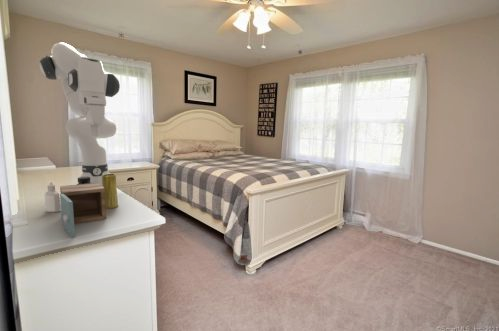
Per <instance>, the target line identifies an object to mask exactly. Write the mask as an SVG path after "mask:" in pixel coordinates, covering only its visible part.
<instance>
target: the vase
mask: <svg viewBox="0 0 499 331" xmlns="http://www.w3.org/2000/svg"><path fill="white" fill-rule="evenodd" d="M102 185H103V187H104V188H105V206H106V210H107V209H108V210H109V209H115V208H117V207H119V202H118V189H117V176H116V173H110V174H103V175H102Z"/></svg>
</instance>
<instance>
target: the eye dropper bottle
mask: <svg viewBox="0 0 499 331" xmlns="http://www.w3.org/2000/svg"><path fill="white" fill-rule="evenodd" d="M44 202H45V203H44V205H45V211H46V212H48V213H57V212H61V201H60V193H59V191H57V190H56V185H54V184H53V182H51V181H49V185H47V191H46V192H45V193H44Z"/></svg>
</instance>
